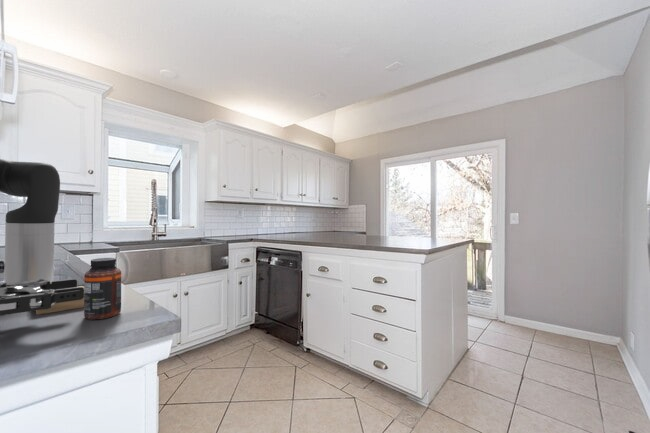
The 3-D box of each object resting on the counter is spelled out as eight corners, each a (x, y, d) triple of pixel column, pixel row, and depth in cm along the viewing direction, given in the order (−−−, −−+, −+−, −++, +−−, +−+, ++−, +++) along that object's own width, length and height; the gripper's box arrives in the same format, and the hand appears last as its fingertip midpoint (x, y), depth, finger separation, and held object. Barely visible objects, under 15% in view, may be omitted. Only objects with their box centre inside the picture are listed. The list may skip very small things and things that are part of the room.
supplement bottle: (117, 308, 63) (119, 256, 63) (123, 316, 59) (125, 259, 59) (81, 315, 59) (83, 258, 59) (85, 323, 55) (86, 262, 55)
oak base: (34, 305, 64) (34, 291, 64) (81, 298, 70) (82, 285, 70) (36, 314, 58) (37, 298, 58) (88, 306, 64) (88, 291, 64)
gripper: (-67, 289, 39) (87, 274, 51) (-52, 273, 49) (74, 263, 61) (-69, 345, 39) (86, 317, 51) (-53, 318, 49) (74, 300, 61)
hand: (80, 288), depth 56 cm, fingers open, 8 cm apart
